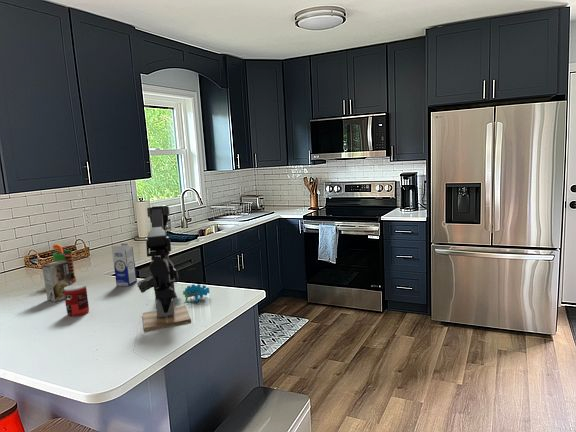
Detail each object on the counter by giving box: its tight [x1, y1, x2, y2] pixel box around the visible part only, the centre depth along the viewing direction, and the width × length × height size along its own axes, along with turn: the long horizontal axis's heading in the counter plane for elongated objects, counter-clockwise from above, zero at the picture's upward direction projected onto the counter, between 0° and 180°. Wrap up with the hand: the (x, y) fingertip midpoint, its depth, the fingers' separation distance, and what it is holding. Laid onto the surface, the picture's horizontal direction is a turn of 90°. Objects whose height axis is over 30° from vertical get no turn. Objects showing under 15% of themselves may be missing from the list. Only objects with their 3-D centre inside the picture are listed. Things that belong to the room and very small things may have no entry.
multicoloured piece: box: [52, 243, 77, 284], centre depth 216 cm, size 10×9×20 cm
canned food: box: [64, 283, 90, 317], centre depth 170 cm, size 8×8×11 cm
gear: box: [182, 283, 210, 303], centre depth 176 cm, size 11×6×10 cm
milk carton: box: [111, 243, 138, 287], centre depth 206 cm, size 7×7×20 cm
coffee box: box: [41, 260, 73, 302], centre depth 191 cm, size 9×6×16 cm
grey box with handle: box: [154, 297, 175, 317], centre depth 157 cm, size 6×6×6 cm
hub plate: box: [142, 305, 192, 332], centre depth 157 cm, size 16×16×5 cm
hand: (165, 309), depth 157 cm, fingers closed on grey box with handle, 6 cm apart
